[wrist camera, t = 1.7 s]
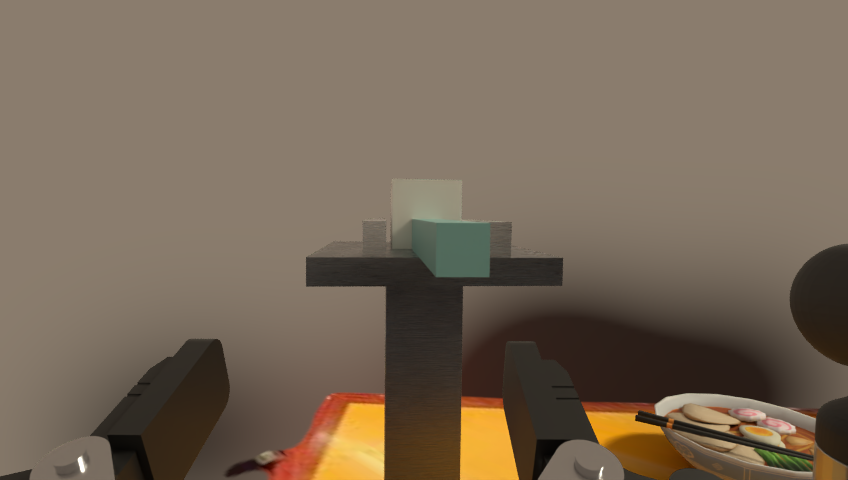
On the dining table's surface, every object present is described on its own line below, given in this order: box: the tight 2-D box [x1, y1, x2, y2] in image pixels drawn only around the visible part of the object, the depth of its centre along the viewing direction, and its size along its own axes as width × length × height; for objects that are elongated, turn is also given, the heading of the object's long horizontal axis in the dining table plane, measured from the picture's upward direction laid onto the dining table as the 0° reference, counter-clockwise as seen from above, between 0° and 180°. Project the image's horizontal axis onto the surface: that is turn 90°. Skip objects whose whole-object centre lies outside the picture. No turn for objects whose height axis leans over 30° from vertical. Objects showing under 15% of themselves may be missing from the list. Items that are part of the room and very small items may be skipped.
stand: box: [306, 218, 563, 480], centre depth 42 cm, size 18×18×34 cm
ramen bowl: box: [635, 393, 816, 480], centre depth 62 cm, size 25×23×8 cm
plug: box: [391, 179, 490, 277], centre depth 35 cm, size 6×26×6 cm, turn 5°
